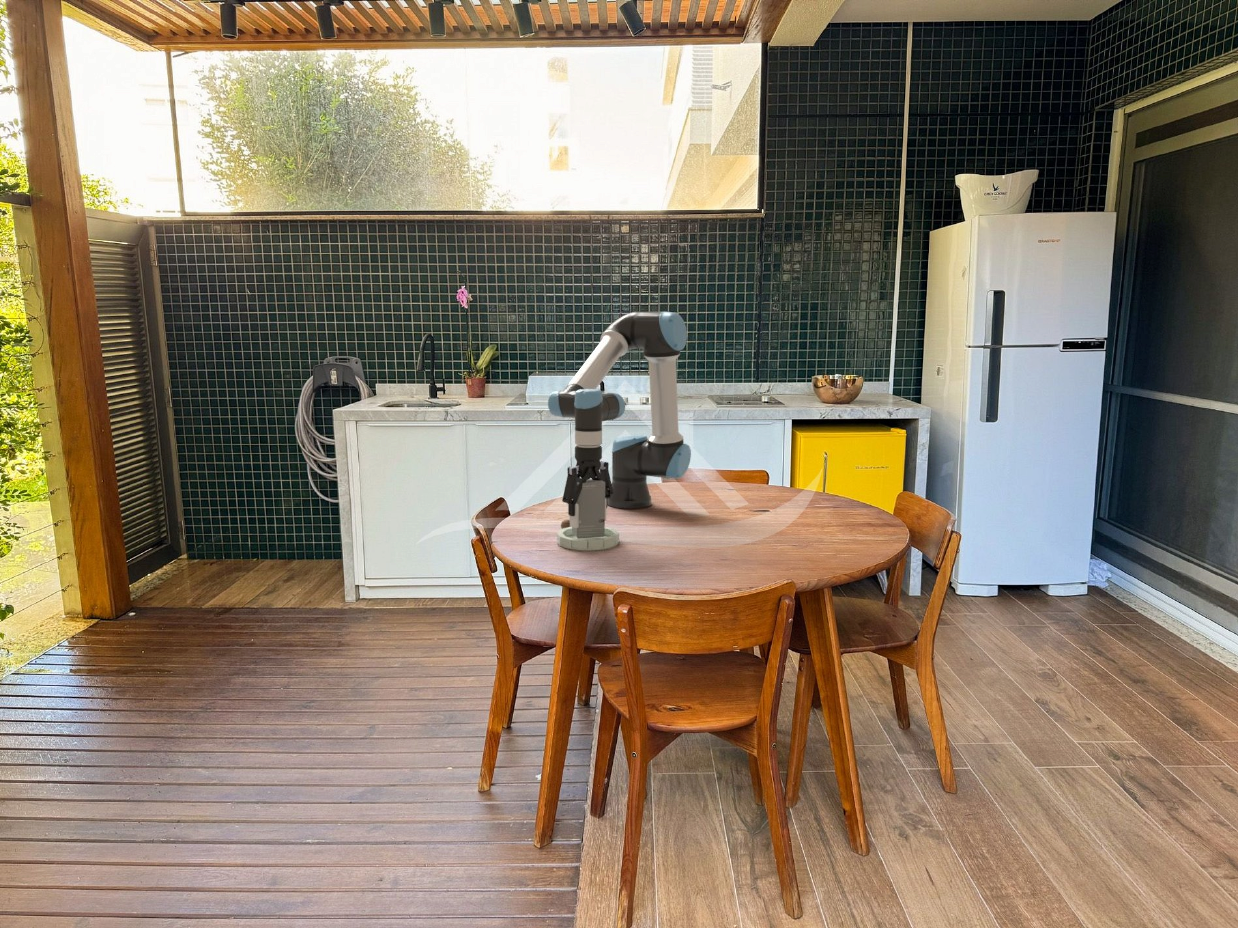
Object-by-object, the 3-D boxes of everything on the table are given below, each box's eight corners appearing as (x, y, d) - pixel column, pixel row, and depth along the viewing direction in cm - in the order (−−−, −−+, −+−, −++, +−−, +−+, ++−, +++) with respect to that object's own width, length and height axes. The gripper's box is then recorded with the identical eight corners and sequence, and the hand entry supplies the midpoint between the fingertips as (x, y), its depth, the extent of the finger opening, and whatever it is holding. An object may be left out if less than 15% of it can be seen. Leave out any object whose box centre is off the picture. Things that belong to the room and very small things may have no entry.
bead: (567, 529, 249) (567, 517, 248) (575, 531, 246) (575, 519, 246) (558, 531, 246) (558, 519, 246) (566, 533, 244) (566, 521, 243)
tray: (588, 531, 246) (588, 522, 246) (630, 542, 235) (630, 532, 234) (545, 542, 234) (545, 532, 234) (587, 554, 223) (587, 544, 222)
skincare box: (576, 539, 230) (576, 483, 227) (571, 532, 237) (570, 478, 234) (606, 537, 232) (606, 481, 229) (600, 530, 239) (600, 476, 236)
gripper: (607, 439, 240) (607, 514, 244) (548, 448, 224) (548, 528, 228) (626, 442, 235) (625, 518, 239) (567, 451, 219) (567, 533, 223)
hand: (588, 523), depth 234 cm, fingers open, 10 cm apart
